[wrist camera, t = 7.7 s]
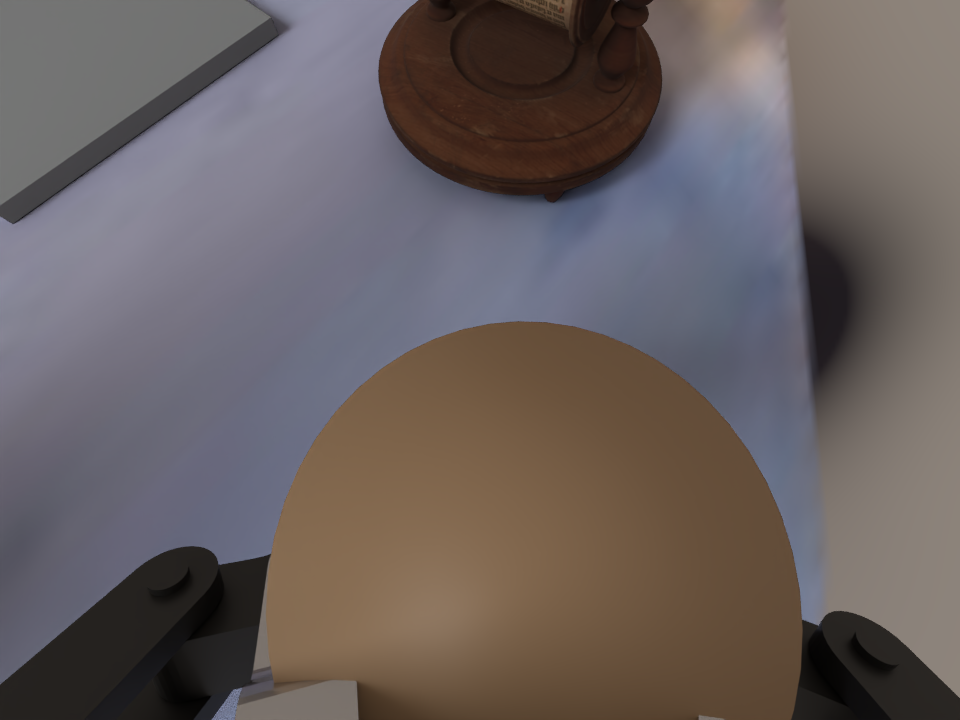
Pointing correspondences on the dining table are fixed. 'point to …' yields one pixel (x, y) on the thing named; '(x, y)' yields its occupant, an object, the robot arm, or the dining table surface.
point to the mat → (103, 79)
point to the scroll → (521, 89)
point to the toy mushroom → (535, 542)
